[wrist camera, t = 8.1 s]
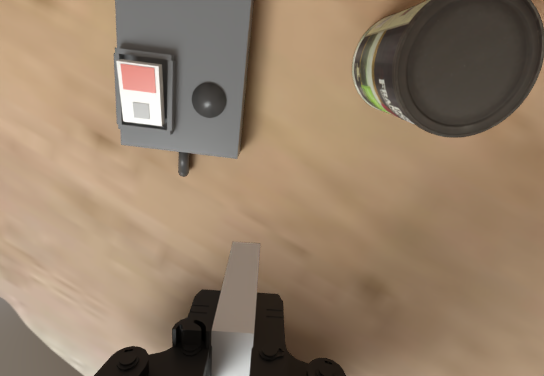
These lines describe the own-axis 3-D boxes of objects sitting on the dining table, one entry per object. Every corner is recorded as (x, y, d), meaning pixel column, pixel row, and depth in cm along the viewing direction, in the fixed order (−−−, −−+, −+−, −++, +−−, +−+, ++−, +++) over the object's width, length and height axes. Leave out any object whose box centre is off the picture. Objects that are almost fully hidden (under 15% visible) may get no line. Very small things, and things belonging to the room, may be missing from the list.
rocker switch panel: (237, 180, 41) (233, 191, 37) (133, 167, 41) (118, 177, 37) (264, -117, 31) (262, -143, 27) (124, -138, 30) (102, -167, 26)
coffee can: (398, 130, 39) (462, 164, 25) (332, 74, 36) (364, 79, 23) (467, 55, 36) (579, 49, 22) (398, -11, 34) (478, -60, 20)
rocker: (164, 122, 35) (161, 126, 34) (127, 118, 35) (123, 121, 34) (161, 64, 32) (158, 66, 31) (120, 59, 32) (115, 61, 31)
